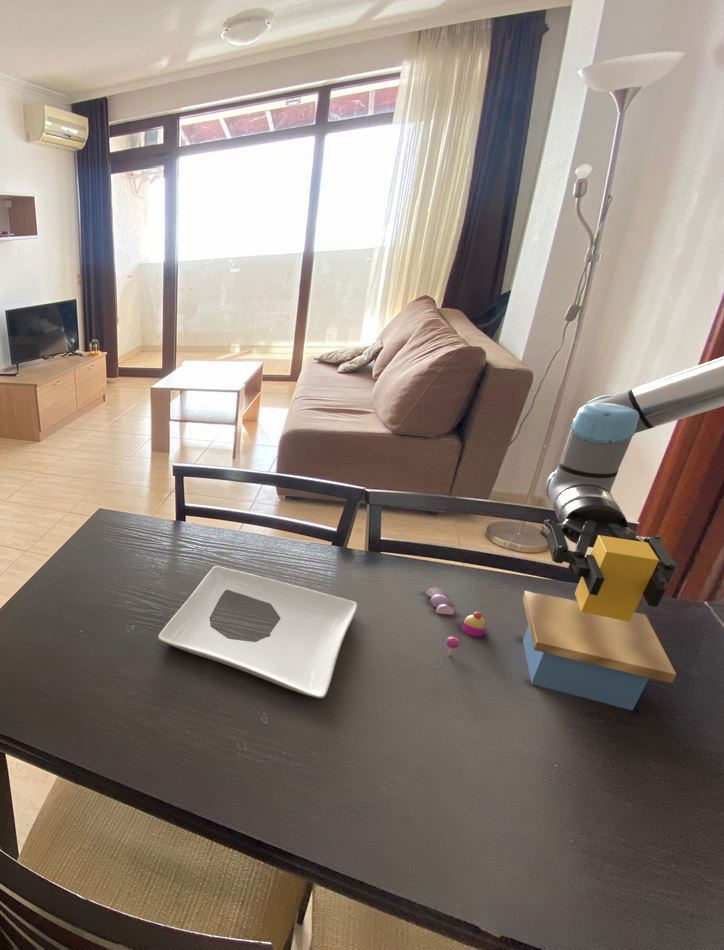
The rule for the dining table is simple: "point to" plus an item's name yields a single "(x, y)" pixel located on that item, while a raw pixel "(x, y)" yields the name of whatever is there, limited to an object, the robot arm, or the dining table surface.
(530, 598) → the birch board
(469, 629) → the candy
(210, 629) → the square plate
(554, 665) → the blue box
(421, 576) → the dining table surface
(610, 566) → the yellow block
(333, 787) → the dining table surface
